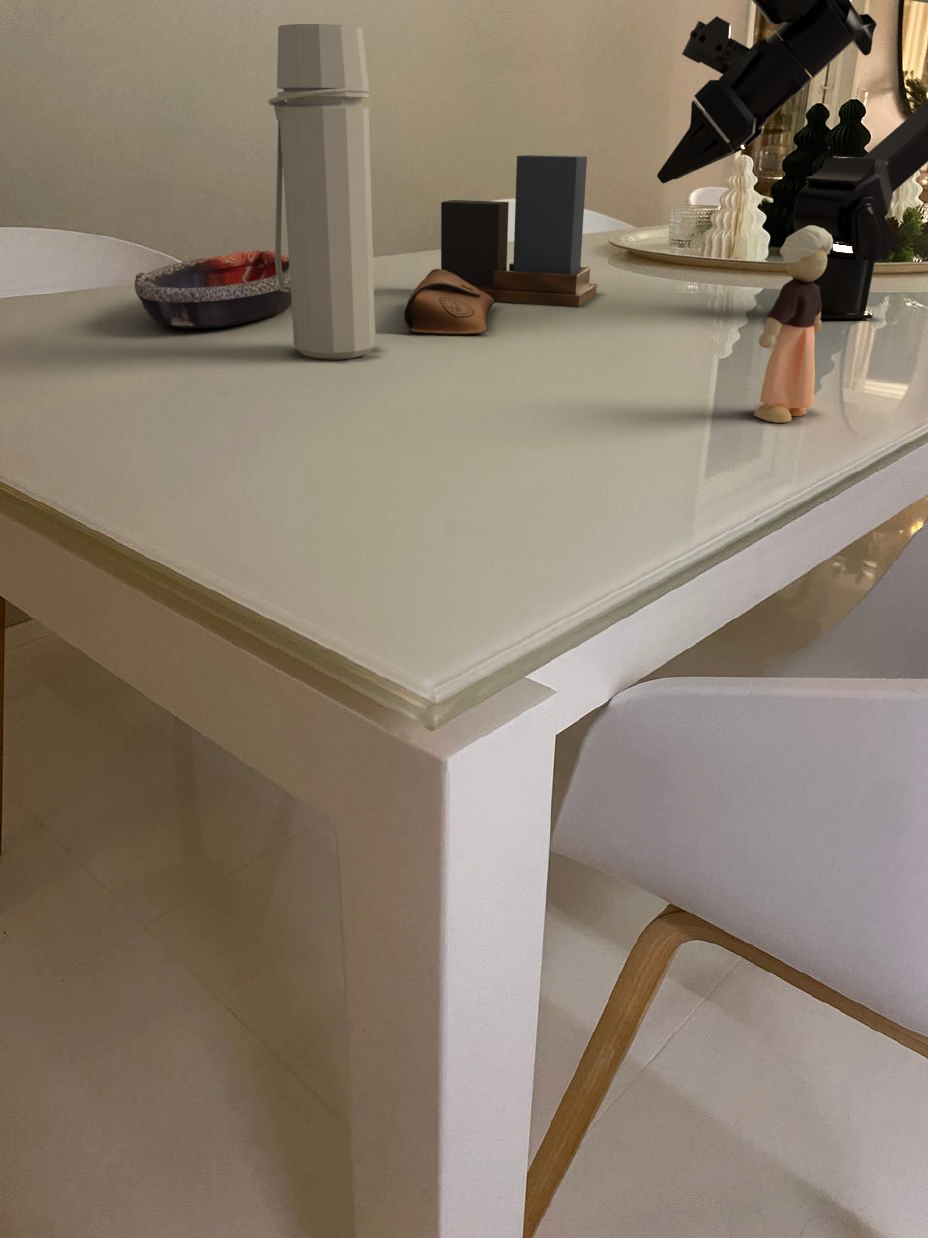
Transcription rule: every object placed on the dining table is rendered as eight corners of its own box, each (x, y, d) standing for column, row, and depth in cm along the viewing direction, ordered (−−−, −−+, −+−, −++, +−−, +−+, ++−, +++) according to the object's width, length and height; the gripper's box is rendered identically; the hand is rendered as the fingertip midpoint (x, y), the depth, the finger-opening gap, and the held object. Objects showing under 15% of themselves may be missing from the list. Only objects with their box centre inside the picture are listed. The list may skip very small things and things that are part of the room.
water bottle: (392, 348, 91) (386, 30, 80) (348, 365, 85) (334, 21, 74) (306, 339, 95) (289, 32, 84) (257, 354, 88) (231, 24, 77)
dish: (95, 334, 96) (87, 279, 93) (215, 287, 123) (211, 243, 121) (252, 341, 93) (248, 285, 91) (339, 292, 121) (337, 248, 119)
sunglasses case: (491, 330, 97) (457, 266, 95) (429, 366, 99) (393, 304, 96) (496, 300, 113) (466, 246, 111) (442, 332, 115) (411, 279, 113)
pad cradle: (596, 294, 122) (602, 203, 117) (578, 306, 113) (584, 209, 109) (451, 285, 127) (452, 197, 122) (424, 296, 118) (424, 203, 114)
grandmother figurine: (795, 429, 69) (827, 231, 63) (740, 421, 70) (766, 227, 65) (824, 406, 75) (855, 223, 69) (772, 399, 76) (799, 219, 71)
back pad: (579, 285, 120) (587, 156, 113) (569, 290, 116) (577, 157, 110) (523, 281, 122) (528, 154, 116) (512, 286, 119) (516, 155, 112)
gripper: (747, -3, 104) (631, 116, 111) (732, -26, 88) (598, 114, 96) (814, 84, 105) (695, 195, 113) (812, 77, 89) (673, 207, 97)
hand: (666, 177), depth 104 cm, fingers open, 9 cm apart
